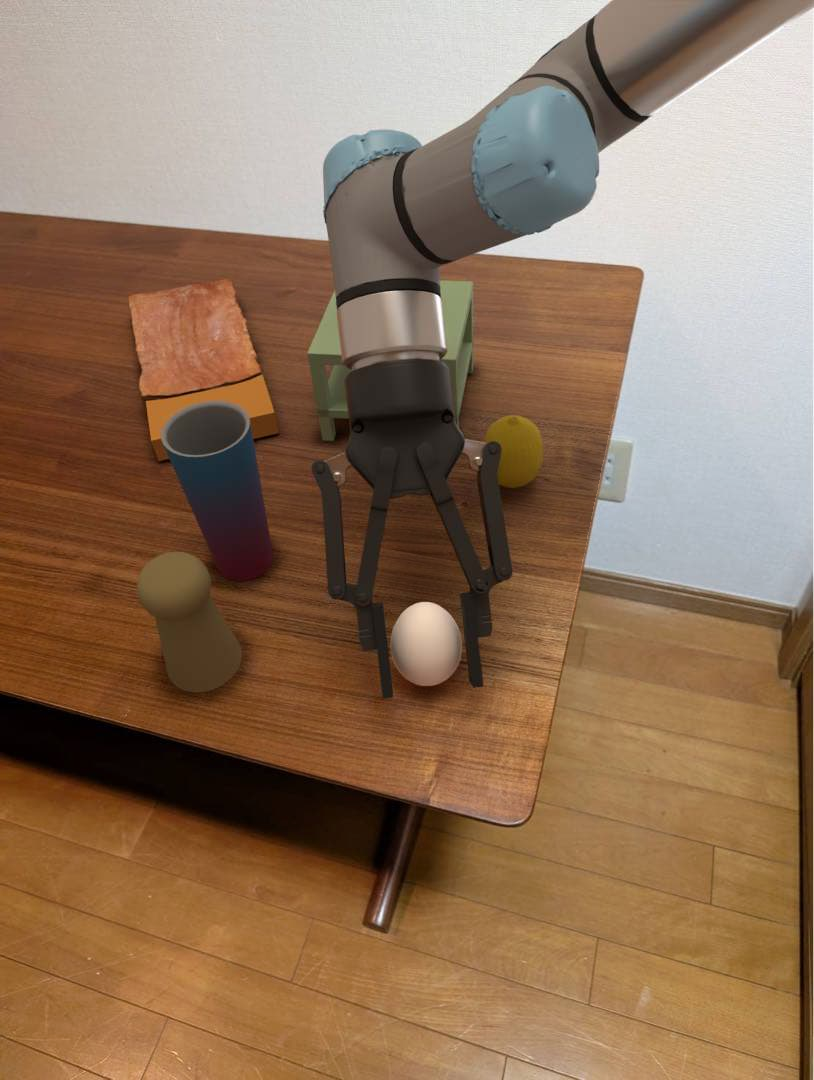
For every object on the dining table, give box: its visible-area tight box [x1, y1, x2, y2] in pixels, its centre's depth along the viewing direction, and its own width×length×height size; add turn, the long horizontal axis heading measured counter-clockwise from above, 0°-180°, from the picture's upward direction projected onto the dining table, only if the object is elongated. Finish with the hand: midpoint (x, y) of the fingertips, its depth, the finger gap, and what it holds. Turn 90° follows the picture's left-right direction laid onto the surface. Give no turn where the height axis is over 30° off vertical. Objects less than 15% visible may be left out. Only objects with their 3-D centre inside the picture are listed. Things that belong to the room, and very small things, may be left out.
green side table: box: [306, 280, 474, 442], centre depth 85 cm, size 14×14×12 cm
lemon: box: [483, 414, 544, 489], centre depth 76 cm, size 6×6×8 cm
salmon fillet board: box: [127, 278, 280, 462], centre depth 94 cm, size 13×30×3 cm, turn 17°
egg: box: [390, 601, 463, 687], centre depth 62 cm, size 5×5×8 cm
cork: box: [136, 551, 243, 694], centre depth 63 cm, size 6×6×11 cm
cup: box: [161, 401, 274, 582], centre depth 69 cm, size 7×7×15 cm
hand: (432, 688), depth 60 cm, fingers open, 6 cm apart
